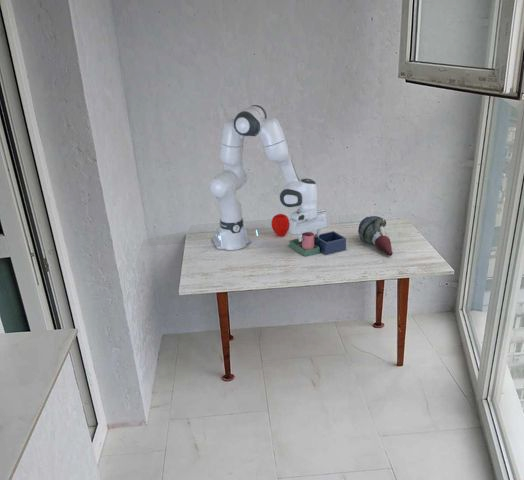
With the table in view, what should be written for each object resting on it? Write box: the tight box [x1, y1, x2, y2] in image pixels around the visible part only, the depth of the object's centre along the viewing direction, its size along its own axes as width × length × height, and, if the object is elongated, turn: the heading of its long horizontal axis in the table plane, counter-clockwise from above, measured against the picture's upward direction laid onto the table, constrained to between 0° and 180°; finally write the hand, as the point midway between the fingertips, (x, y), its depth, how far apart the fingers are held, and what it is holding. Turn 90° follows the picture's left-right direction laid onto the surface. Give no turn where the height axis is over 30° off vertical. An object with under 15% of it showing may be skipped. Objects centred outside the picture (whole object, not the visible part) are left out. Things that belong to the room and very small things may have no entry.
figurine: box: [357, 215, 394, 257], centre depth 288 cm, size 29×17×15 cm
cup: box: [301, 231, 315, 250], centre depth 285 cm, size 6×6×10 cm
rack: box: [289, 238, 321, 257], centre depth 290 cm, size 16×8×3 cm, turn 26°
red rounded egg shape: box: [270, 213, 290, 238], centre depth 305 cm, size 10×10×12 cm
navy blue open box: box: [314, 230, 347, 256], centre depth 288 cm, size 12×12×6 cm
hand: (308, 239), depth 284 cm, fingers open, 8 cm apart
